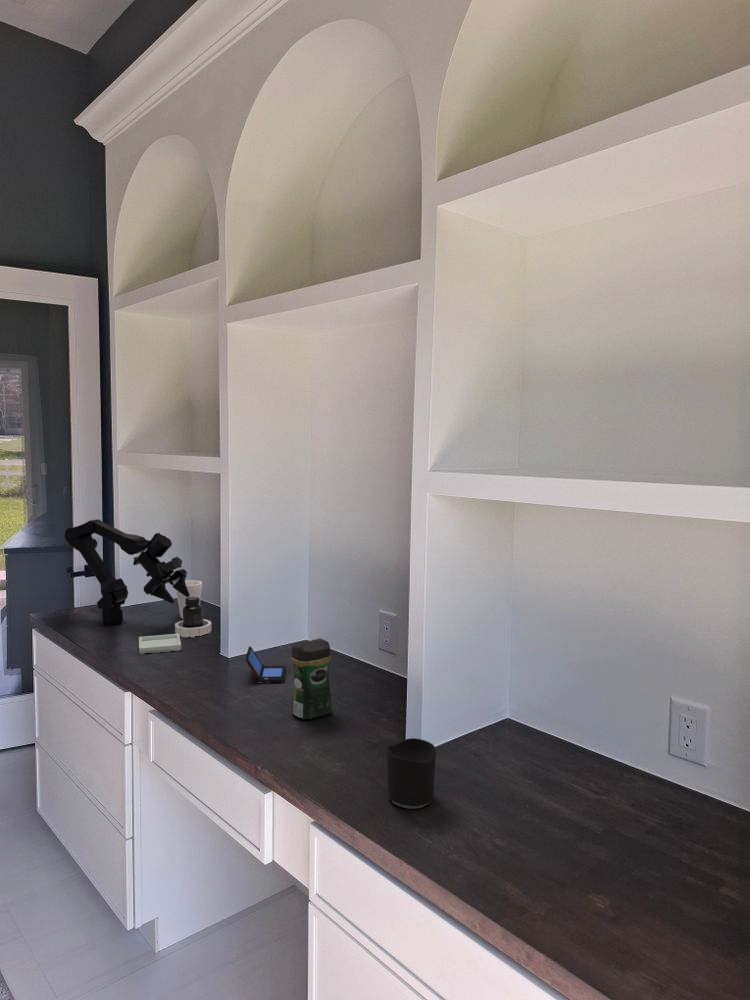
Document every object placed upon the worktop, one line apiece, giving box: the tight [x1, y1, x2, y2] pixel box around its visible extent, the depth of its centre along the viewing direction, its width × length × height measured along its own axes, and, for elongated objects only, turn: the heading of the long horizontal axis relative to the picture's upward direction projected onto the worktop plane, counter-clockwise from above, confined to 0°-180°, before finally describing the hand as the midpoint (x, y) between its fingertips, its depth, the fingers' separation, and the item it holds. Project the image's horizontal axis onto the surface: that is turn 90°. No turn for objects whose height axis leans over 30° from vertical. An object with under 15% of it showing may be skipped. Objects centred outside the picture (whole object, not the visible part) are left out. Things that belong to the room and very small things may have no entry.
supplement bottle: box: [182, 597, 204, 628], centre depth 243 cm, size 7×7×12 cm
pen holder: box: [386, 737, 437, 806], centre depth 135 cm, size 9×9×10 cm
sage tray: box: [138, 633, 182, 655], centre depth 228 cm, size 13×13×2 cm
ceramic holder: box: [174, 618, 212, 638], centre depth 244 cm, size 12×12×3 cm
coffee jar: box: [290, 637, 333, 720], centre depth 175 cm, size 10×8×19 cm
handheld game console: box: [244, 645, 287, 683], centre depth 202 cm, size 12×11×7 cm
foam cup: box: [175, 579, 203, 620], centre depth 262 cm, size 10×9×13 cm
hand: (181, 599), depth 244 cm, fingers open, 9 cm apart
